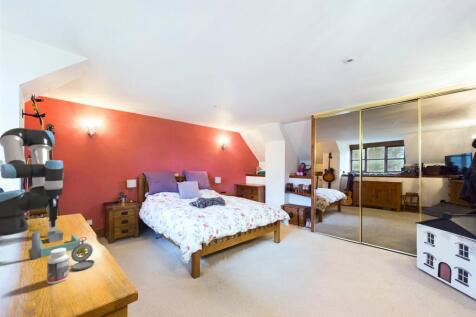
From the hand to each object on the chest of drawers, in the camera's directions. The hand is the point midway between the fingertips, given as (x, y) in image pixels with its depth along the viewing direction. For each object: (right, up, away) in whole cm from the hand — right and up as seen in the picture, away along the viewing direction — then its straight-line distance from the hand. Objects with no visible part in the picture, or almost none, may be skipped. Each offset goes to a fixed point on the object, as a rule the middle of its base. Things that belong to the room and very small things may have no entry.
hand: (52, 232), depth 112 cm
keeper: (+17, -1, -18) cm, 25 cm away
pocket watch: (+42, -1, -34) cm, 54 cm away
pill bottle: (+41, 0, -43) cm, 60 cm away
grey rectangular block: (+7, -2, -6) cm, 10 cm away
